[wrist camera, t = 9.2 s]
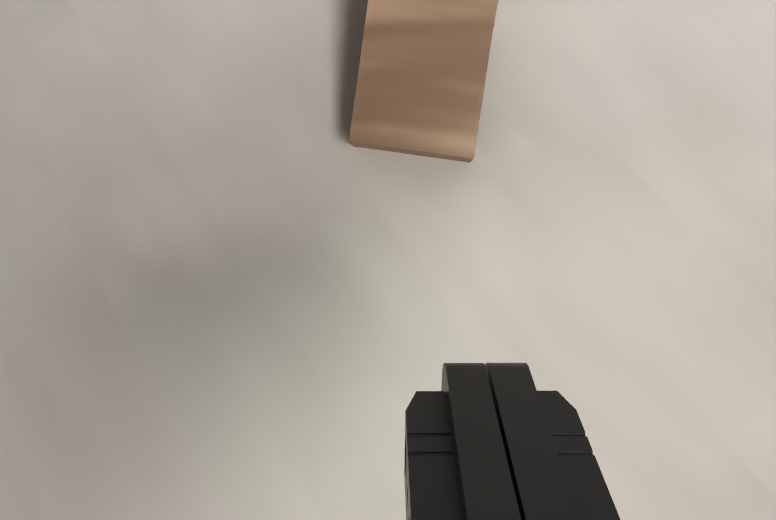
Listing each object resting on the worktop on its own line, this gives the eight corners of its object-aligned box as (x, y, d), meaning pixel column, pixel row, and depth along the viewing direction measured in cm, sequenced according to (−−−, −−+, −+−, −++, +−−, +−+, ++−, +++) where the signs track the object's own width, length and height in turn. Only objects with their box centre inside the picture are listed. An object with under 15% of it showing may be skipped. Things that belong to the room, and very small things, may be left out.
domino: (473, 158, 26) (512, -101, 25) (348, 141, 26) (384, -117, 25) (470, 162, 28) (506, -80, 27) (353, 146, 28) (386, -95, 27)
